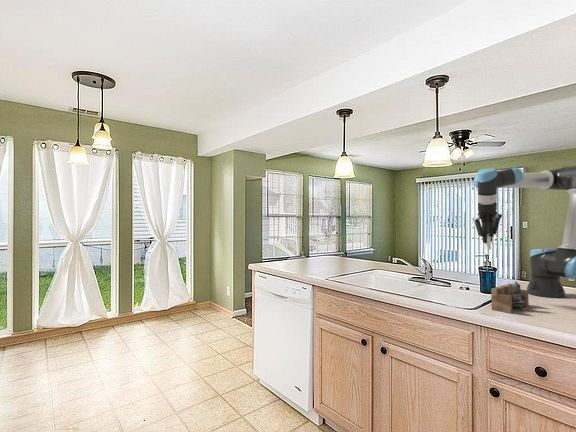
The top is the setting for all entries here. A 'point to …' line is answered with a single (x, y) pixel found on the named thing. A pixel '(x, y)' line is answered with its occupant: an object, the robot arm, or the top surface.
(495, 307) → the brown wooden u-shaped block
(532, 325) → the top surface
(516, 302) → the grey chess piece
